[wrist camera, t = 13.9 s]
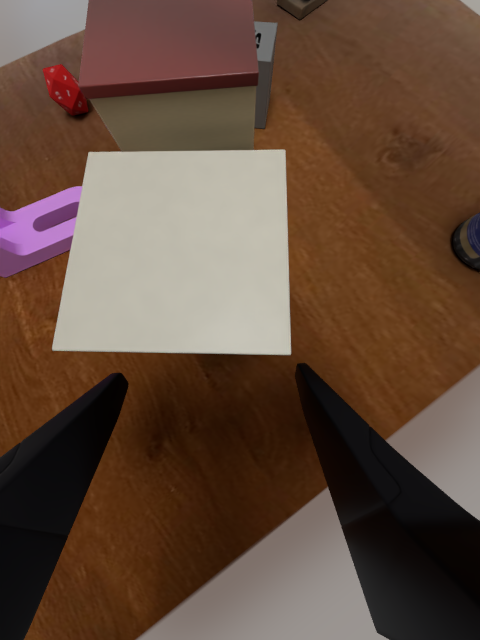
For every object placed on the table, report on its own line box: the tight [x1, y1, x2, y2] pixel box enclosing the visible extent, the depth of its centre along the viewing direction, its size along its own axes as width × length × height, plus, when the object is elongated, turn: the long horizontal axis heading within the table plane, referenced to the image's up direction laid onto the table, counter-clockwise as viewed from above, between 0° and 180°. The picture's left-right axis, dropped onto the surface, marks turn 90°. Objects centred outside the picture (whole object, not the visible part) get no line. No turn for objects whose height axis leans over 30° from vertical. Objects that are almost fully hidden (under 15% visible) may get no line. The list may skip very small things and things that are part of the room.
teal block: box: [52, 150, 291, 355], centre depth 11 cm, size 6×6×13 cm
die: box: [43, 64, 88, 116], centre depth 21 cm, size 4×4×4 cm
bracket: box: [0, 187, 82, 278], centre depth 16 cm, size 13×6×7 cm, turn 115°
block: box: [78, 0, 259, 152], centre depth 12 cm, size 6×6×13 cm
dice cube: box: [254, 22, 277, 129], centre depth 19 cm, size 5×5×5 cm
